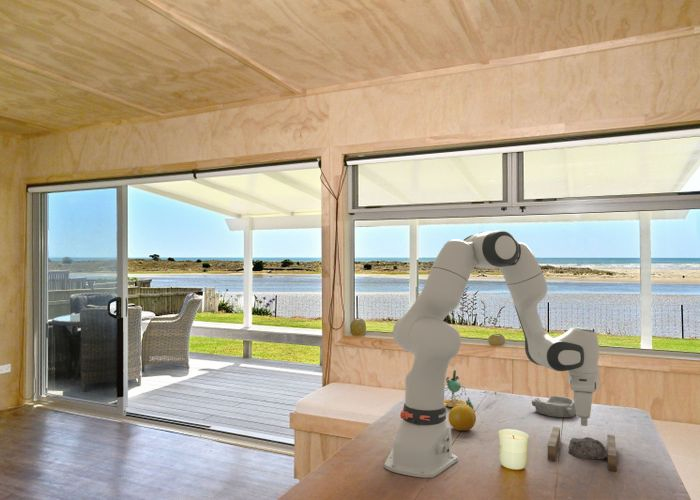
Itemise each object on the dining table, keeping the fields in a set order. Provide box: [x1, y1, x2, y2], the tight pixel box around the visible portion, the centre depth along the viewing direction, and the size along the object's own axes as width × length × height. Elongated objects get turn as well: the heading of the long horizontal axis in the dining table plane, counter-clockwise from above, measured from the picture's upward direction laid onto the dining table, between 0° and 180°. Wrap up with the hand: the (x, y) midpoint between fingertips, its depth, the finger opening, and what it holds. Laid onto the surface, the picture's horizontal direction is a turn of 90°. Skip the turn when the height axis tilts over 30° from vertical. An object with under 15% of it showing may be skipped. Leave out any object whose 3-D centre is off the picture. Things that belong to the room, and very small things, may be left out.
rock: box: [567, 436, 608, 460], centre depth 145 cm, size 9×11×4 cm
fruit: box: [447, 405, 477, 432], centre depth 165 cm, size 9×8×8 cm
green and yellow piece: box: [444, 369, 476, 412], centre depth 193 cm, size 10×18×15 cm, turn 22°
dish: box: [531, 395, 576, 418], centre depth 184 cm, size 14×14×5 cm
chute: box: [547, 426, 618, 472], centre depth 144 cm, size 18×17×4 cm
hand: (584, 424), depth 155 cm, fingers closed
